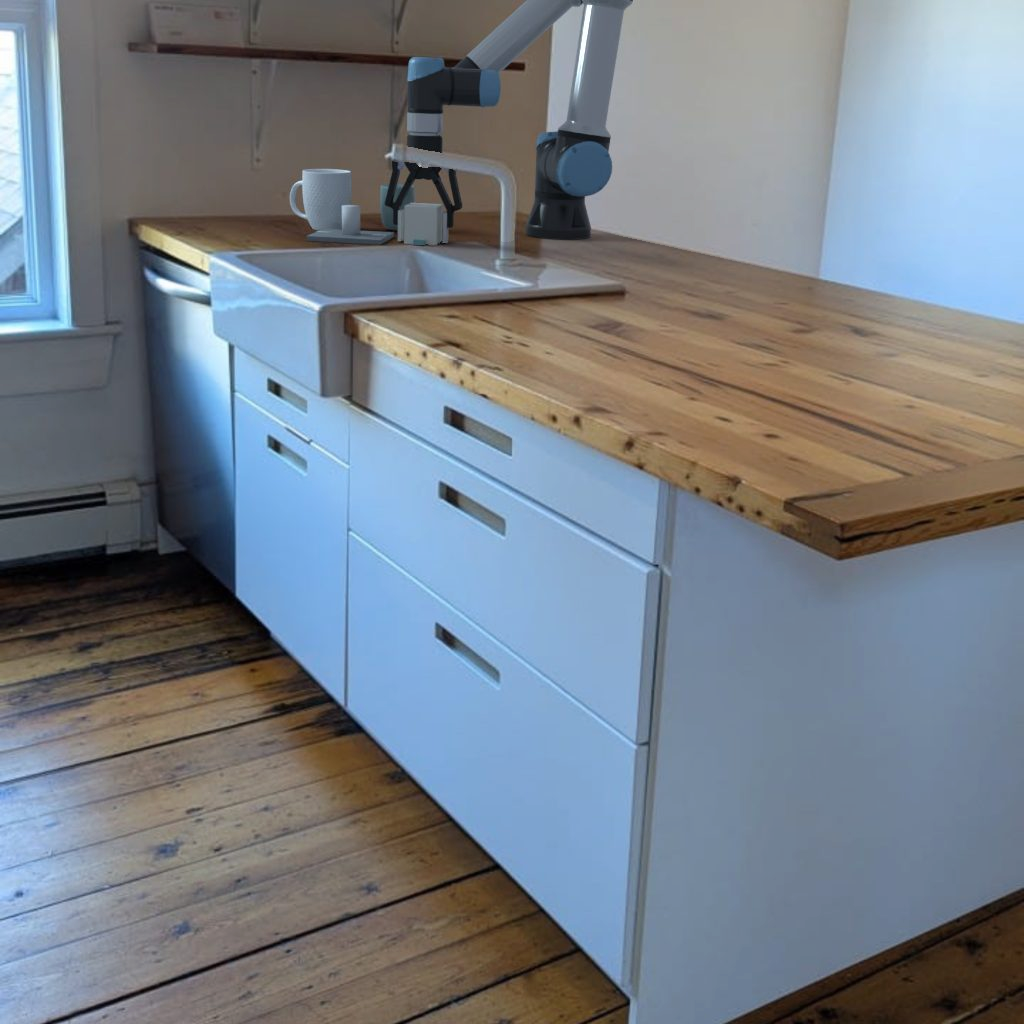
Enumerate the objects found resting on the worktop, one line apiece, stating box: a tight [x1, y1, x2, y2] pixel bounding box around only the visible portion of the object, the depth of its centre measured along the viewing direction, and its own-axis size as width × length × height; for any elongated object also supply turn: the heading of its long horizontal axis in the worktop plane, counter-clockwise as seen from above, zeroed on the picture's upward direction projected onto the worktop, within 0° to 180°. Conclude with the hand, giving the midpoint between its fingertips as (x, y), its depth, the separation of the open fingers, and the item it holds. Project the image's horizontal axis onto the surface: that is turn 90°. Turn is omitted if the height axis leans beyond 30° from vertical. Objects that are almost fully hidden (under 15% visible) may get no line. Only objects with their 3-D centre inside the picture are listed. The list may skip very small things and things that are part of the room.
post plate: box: [306, 204, 395, 245], centre depth 286 cm, size 16×14×7 cm
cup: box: [379, 183, 416, 232], centre depth 304 cm, size 8×8×10 cm
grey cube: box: [403, 202, 444, 246], centre depth 284 cm, size 7×10×8 cm
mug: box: [289, 168, 352, 231], centre depth 300 cm, size 15×11×13 cm
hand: (423, 241), depth 285 cm, fingers open, 9 cm apart
